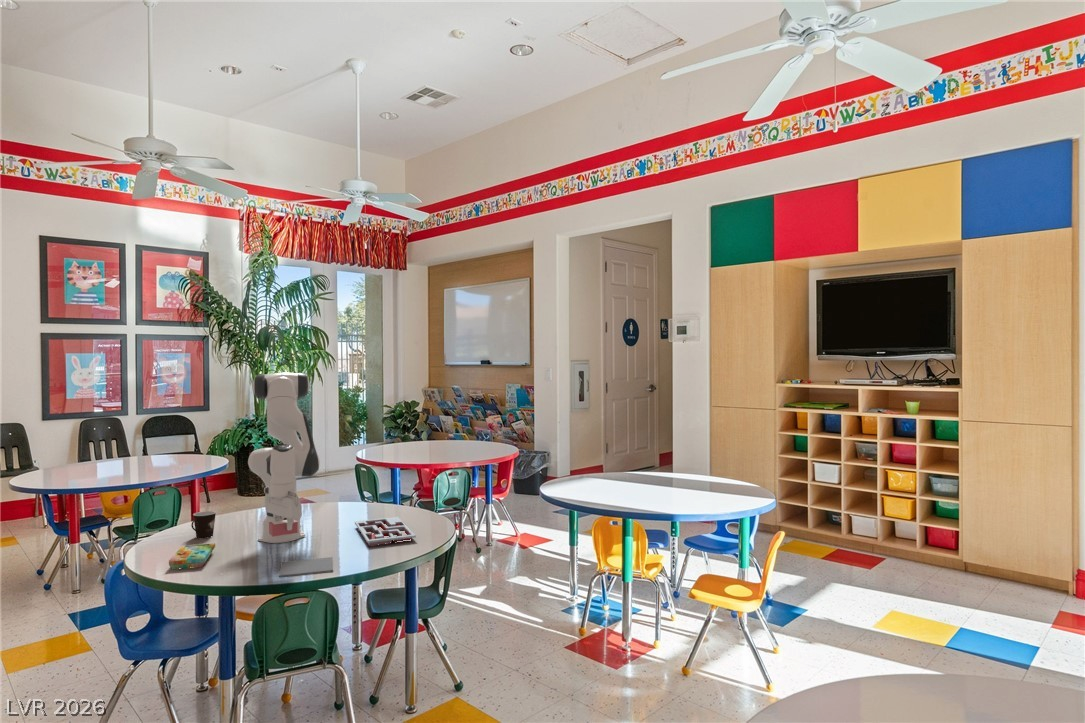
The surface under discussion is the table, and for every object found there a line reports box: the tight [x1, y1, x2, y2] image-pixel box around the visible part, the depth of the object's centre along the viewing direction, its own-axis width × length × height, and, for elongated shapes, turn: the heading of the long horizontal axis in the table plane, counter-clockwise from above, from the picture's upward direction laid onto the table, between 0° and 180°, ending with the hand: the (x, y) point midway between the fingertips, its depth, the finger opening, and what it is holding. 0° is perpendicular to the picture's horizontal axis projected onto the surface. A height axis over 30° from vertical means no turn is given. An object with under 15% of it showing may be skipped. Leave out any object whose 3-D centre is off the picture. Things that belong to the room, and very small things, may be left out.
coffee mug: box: [190, 510, 216, 539], centre depth 277 cm, size 12×9×10 cm
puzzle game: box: [168, 542, 216, 570], centre depth 245 cm, size 12×5×20 cm
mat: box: [278, 556, 334, 578], centre depth 237 cm, size 16×18×1 cm
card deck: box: [269, 520, 298, 537], centre depth 234 cm, size 9×6×4 cm, turn 125°
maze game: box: [354, 516, 417, 547], centre depth 281 cm, size 35×20×3 cm, turn 24°
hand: (283, 528), depth 234 cm, fingers closed on card deck, 6 cm apart
